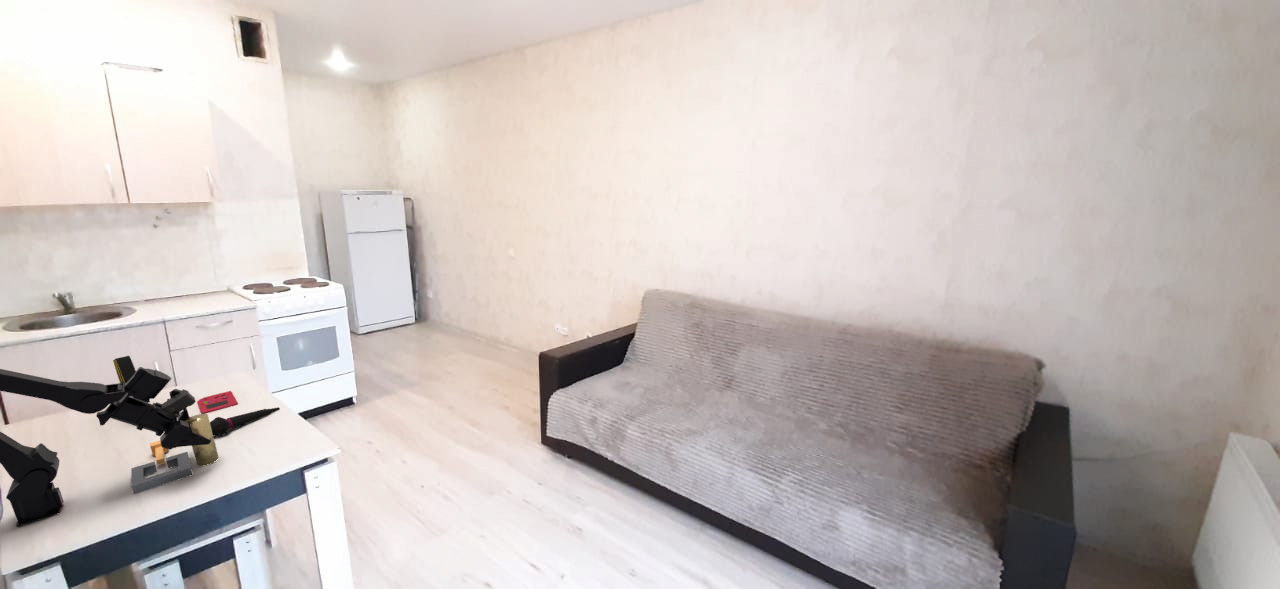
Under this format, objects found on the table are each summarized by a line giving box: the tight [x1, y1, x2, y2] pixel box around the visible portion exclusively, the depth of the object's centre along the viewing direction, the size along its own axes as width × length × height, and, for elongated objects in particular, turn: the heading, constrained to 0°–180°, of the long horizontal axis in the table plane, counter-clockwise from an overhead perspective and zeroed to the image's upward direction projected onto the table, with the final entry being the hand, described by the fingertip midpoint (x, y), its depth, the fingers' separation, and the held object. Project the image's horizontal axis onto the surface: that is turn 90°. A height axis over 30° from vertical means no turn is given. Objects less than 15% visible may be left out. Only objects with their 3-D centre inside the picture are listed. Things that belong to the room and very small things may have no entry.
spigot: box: [185, 413, 220, 467], centre depth 135 cm, size 5×5×13 cm
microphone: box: [209, 407, 281, 437], centre depth 157 cm, size 6×6×20 cm
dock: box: [130, 451, 193, 495], centre depth 130 cm, size 11×11×2 cm
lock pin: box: [149, 440, 169, 466], centre depth 137 cm, size 3×11×3 cm, turn 44°
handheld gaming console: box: [196, 390, 239, 414], centre depth 172 cm, size 10×1×15 cm
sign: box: [112, 355, 151, 404], centre depth 163 cm, size 22×3×20 cm, turn 53°
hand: (208, 436), depth 136 cm, fingers open, 9 cm apart
